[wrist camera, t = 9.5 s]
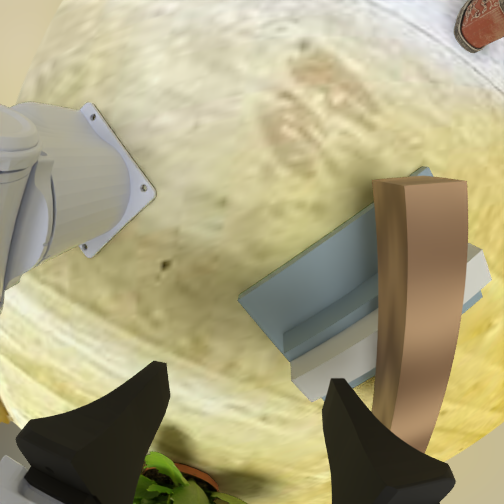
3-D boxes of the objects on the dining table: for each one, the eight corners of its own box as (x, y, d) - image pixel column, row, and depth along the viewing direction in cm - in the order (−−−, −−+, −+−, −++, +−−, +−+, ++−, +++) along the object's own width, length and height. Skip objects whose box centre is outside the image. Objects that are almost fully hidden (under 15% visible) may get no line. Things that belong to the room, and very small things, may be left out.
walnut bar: (405, 427, 18) (419, 464, 14) (368, 436, 18) (378, 476, 14) (423, 175, 13) (466, 181, 9) (371, 180, 14) (404, 186, 10)
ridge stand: (324, 395, 24) (332, 441, 19) (239, 294, 22) (228, 334, 16) (476, 292, 20) (512, 320, 15) (421, 166, 18) (464, 169, 13)
